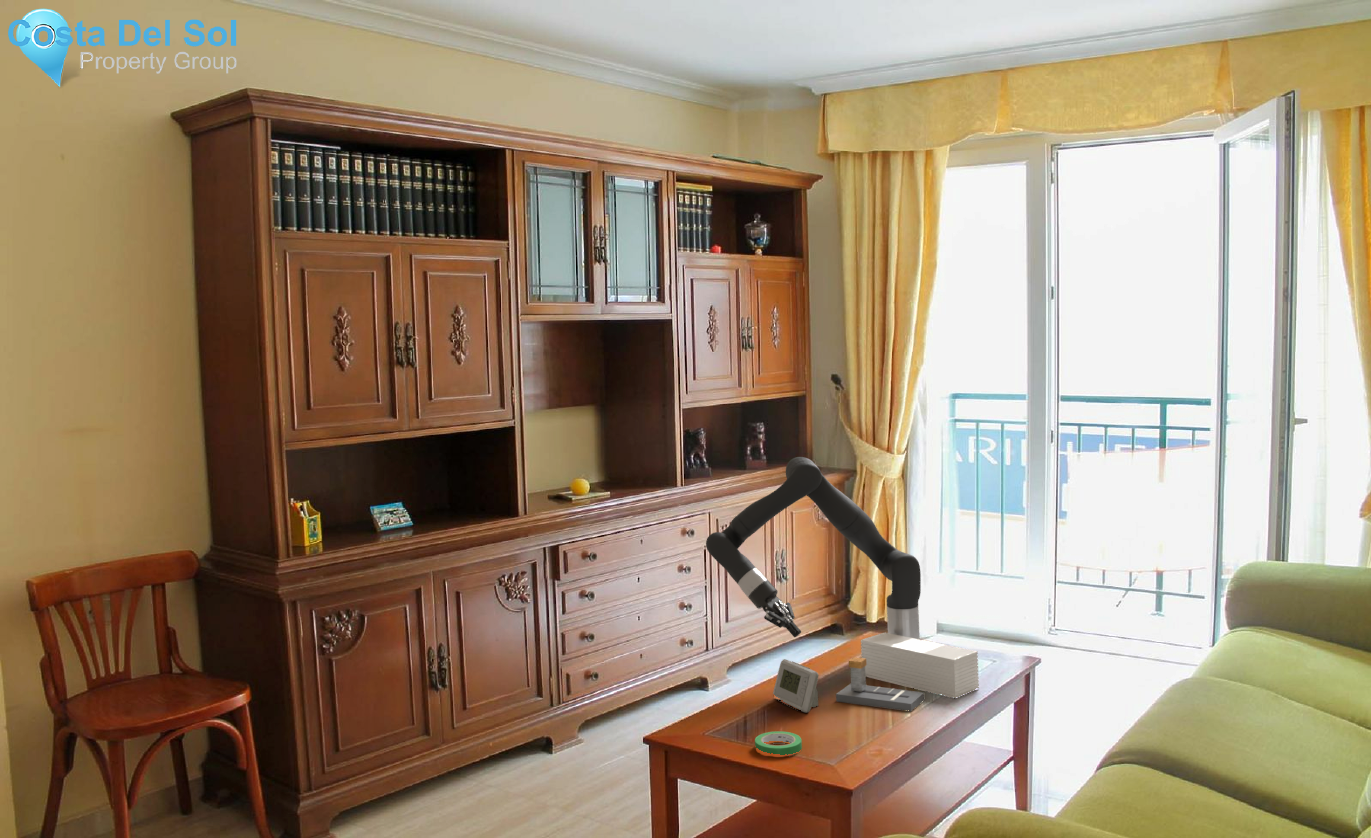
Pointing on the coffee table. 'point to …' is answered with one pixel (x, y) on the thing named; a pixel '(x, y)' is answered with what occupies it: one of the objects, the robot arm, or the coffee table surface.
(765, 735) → the tape roll
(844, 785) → the coffee table surface
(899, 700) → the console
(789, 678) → the digital clock
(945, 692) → the stack of papers
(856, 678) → the fader
